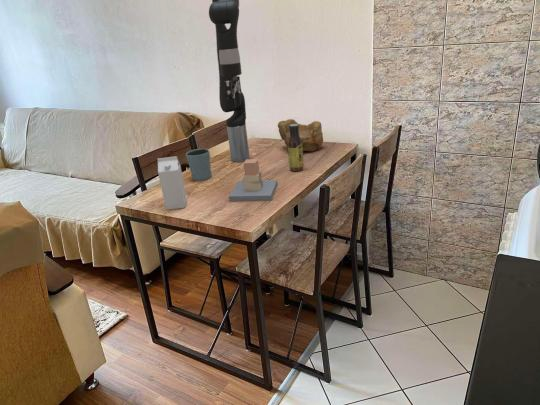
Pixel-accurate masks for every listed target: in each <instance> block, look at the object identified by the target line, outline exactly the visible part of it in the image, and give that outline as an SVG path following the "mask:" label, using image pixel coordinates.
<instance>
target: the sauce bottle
mask: <svg viewBox="0 0 540 405" xmlns="http://www.w3.org/2000/svg"><path fill="white" fill-rule="evenodd" d="M298 124H299V123H298ZM298 124H292V125H289V129H290V138H289V140H288V150H287V153H288V152H289V153H288V163H289V166H288V167H289V170H290V171H291V172H299V171H302V170H303V169H304V151H303V147H302V141H301V138H300V136H299V129H298V128H299V125H298Z"/></svg>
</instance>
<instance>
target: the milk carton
mask: <svg viewBox="0 0 540 405" xmlns="http://www.w3.org/2000/svg"><path fill="white" fill-rule="evenodd" d="M182 171H183V170H182V166H181V163H180V160H179V159H178V156H169V157H160V158H159V157H158V158H157V174H158V180H159V183H160V188H161V193H162V197H163V201H164V202H163V203H164V208H165V210H167V211H168V209H170V210H177V209H185V208H186V205H187V201H188V200H187V199H188V198H187V192H186V188H185V183H184V182H185V181H184V177H183V172H182Z"/></svg>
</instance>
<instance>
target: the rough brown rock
mask: <svg viewBox="0 0 540 405" xmlns="http://www.w3.org/2000/svg"><path fill="white" fill-rule="evenodd" d="M292 124H298V125H299V128H298V129H299V136H300V138H301V141H302V147H303V152H305V151H308V152H315V151H317V150H319V149H320V148H321V147H323V144H324V137H323V131H322V126H323V125H322V123H321V122H320V121H319V120H317V121H315V120H314V121H312V122H311V123H308V124H302V123H298V122H297V121H296V120H295V119H293V118H292V119H291V118H290V119H289V118H288V119H287V120H281V121H279V122H278V123H277V127H278V133H279V135H280V138H281V140H282V141H284V144H285V145H286V150H287V154H289V152H288V140H289V138H290V129H289V125H292Z"/></svg>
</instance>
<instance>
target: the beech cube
mask: <svg viewBox="0 0 540 405" xmlns="http://www.w3.org/2000/svg"><path fill="white" fill-rule="evenodd" d="M262 174H263V173H262V170H259V173H258V174H257V175H256V176H245V173H243V175H242V181H243V182H244V190H245V191H260V189H261V187H262V185H263V183H262V180H263V176H262Z"/></svg>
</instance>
